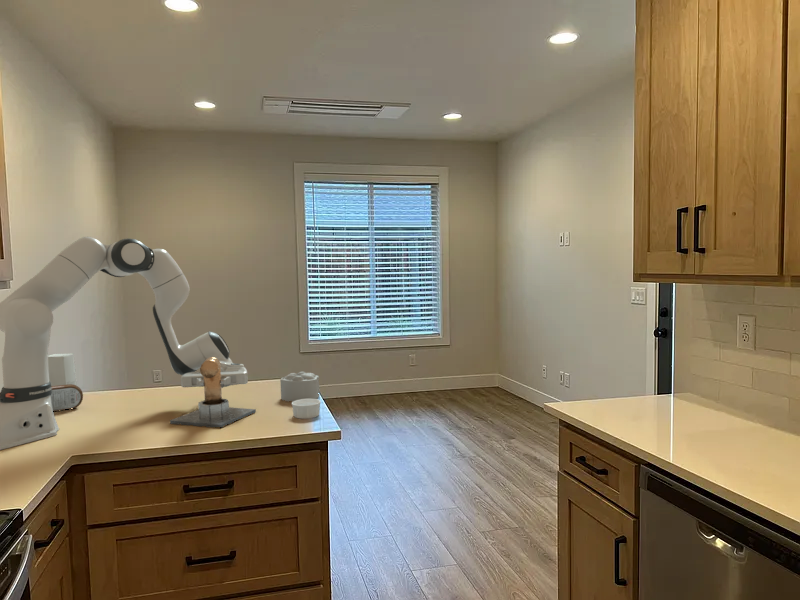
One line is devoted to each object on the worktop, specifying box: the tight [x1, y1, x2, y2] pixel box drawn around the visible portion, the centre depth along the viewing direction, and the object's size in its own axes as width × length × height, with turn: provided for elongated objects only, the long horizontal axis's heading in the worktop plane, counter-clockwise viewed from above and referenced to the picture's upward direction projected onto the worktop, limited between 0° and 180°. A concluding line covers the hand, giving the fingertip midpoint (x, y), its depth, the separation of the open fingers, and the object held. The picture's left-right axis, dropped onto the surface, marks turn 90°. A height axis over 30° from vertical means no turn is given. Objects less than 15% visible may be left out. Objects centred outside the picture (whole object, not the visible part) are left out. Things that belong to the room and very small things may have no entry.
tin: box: [51, 384, 84, 412], centre depth 194 cm, size 15×3×8 cm, turn 123°
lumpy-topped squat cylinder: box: [280, 371, 320, 403], centre depth 204 cm, size 10×13×9 cm
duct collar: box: [169, 398, 257, 428], centre depth 181 cm, size 18×18×5 cm
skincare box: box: [48, 353, 78, 386], centre depth 214 cm, size 8×7×16 cm
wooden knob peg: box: [199, 357, 223, 405], centre depth 178 cm, size 10×5×16 cm, turn 11°
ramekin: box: [291, 398, 321, 420], centre depth 181 cm, size 9×9×4 cm
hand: (212, 383), depth 179 cm, fingers closed on wooden knob peg, 5 cm apart
